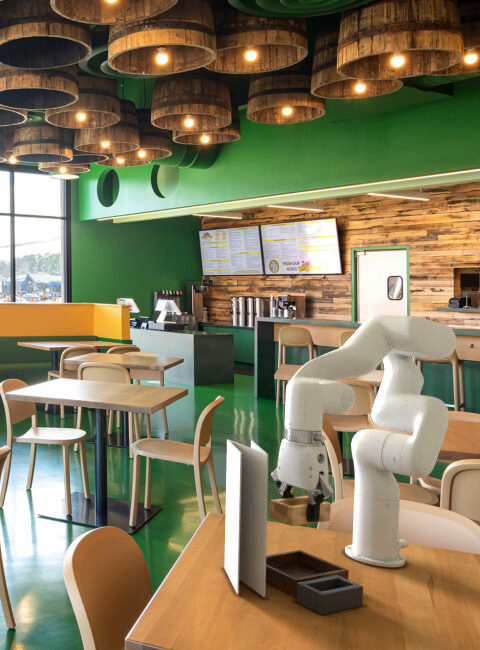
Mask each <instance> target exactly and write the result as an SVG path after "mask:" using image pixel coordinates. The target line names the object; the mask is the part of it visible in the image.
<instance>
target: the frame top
mask: <svg viewBox="0 0 480 650" xmlns="http://www.w3.org/2000/svg"><path fill="white" fill-rule="evenodd" d="M308 503H310V501H309V498H308V495H301V496H294V497H292V498H283V499H281V498H275V499H270V500H269V509H268V510H269V511H268V518H269V519H271V520H274V521H276V522H280V523H282V524H284V525H287V526H290V527H295V526H302V525H303V526H304V525H311V524H318V523H323V522H324V523H325V522H330V521H331V510H332V509H331V508H332V507H331V506H332V503H331V502H328V501H326V500H325V501H323V503H322V504H320V517H319V521H316V522H308V521H307V504H308Z"/></svg>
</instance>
